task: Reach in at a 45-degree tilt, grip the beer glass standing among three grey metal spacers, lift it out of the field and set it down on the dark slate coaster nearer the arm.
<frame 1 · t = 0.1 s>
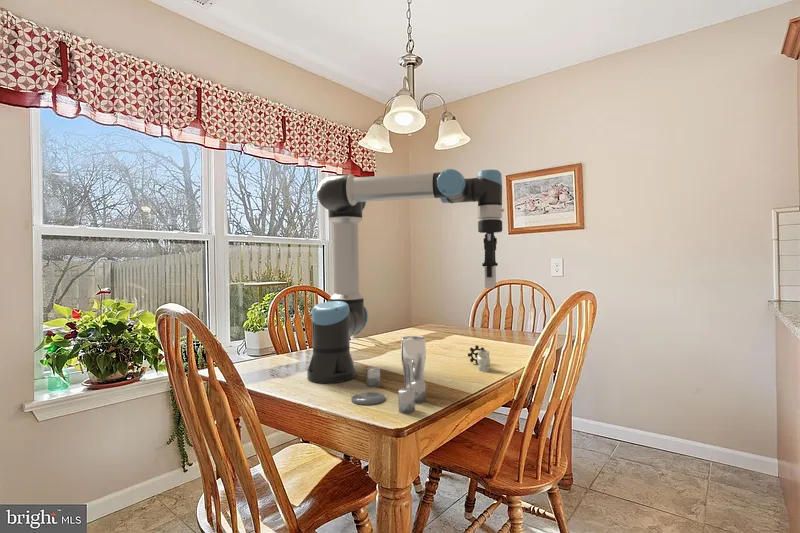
hand: (490, 287, 139), 28 cm above the table, tool pointing down, fingers open, 13 cm apart
spacer c: (406, 410, 107), on the table
coaster: (368, 399, 116), on the table
valve: (481, 368, 149), on the table
spacer a: (373, 385, 130), on the table
beer glass: (413, 391, 123), on the table
spacer b: (418, 400, 115), on the table
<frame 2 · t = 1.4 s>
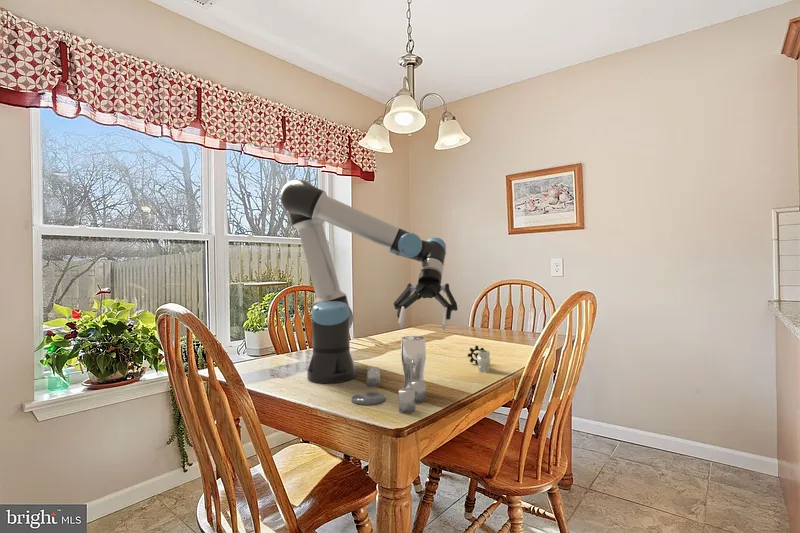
hand: (421, 326, 133), 17 cm above the table, tool tilted 45°, fingers open, 13 cm apart
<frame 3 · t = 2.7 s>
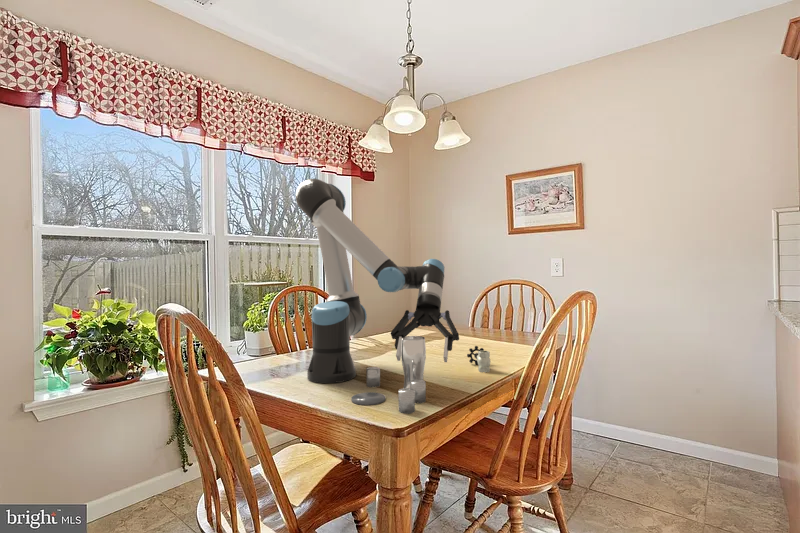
hand: (421, 359, 124), 9 cm above the table, tool tilted 45°, fingers open, 13 cm apart
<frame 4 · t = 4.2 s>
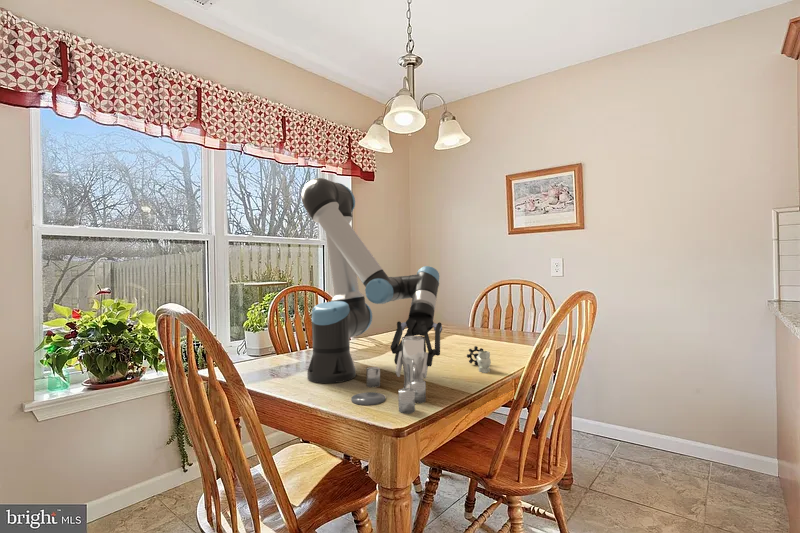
hand: (410, 374, 120), 5 cm above the table, tool tilted 45°, fingers closed on beer glass, 7 cm apart
beer glass: (413, 391, 123), on the table, touching gripper
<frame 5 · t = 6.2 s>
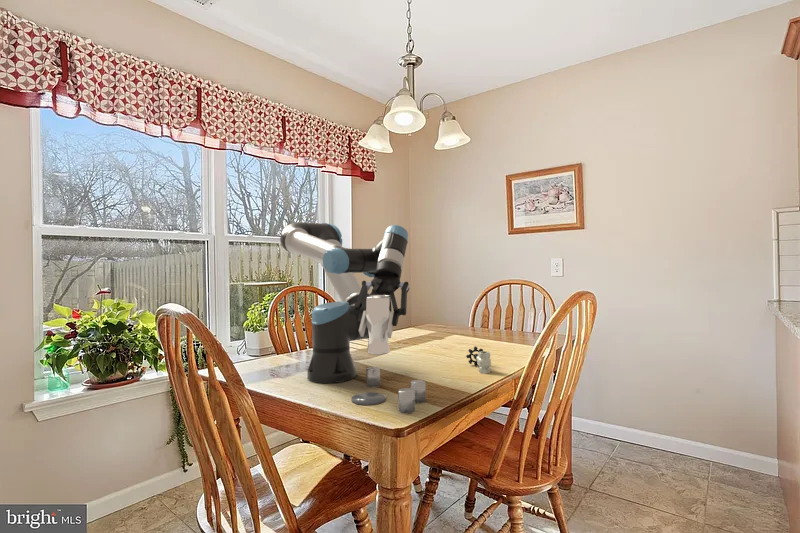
hand: (374, 334, 114), 18 cm above the table, tool tilted 45°, fingers closed on beer glass, 7 cm apart
beer glass: (378, 352, 118), point 12 cm above the table, touching gripper
when the fingers open (11 cm above the table, at t = 8.3 s): beer glass drops 5 cm, resting on coaster.
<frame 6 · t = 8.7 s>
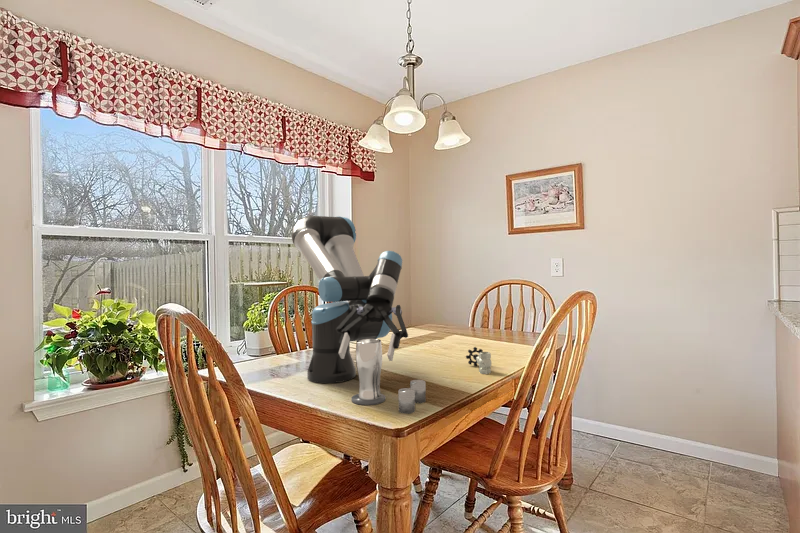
hand: (365, 357, 114), 12 cm above the table, tool tilted 45°, fingers open, 13 cm apart
beer glass: (369, 397, 116), resting on coaster
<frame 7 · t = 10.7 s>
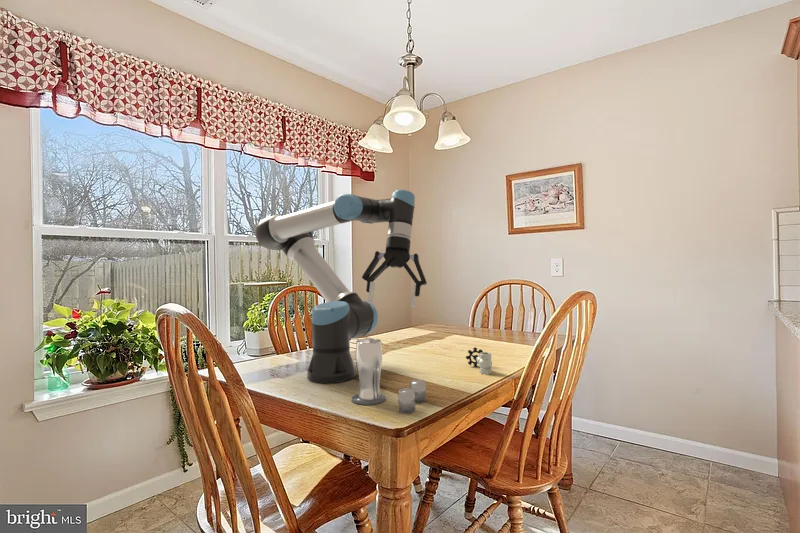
hand: (391, 305, 135), 23 cm above the table, tool pointing down, fingers open, 13 cm apart
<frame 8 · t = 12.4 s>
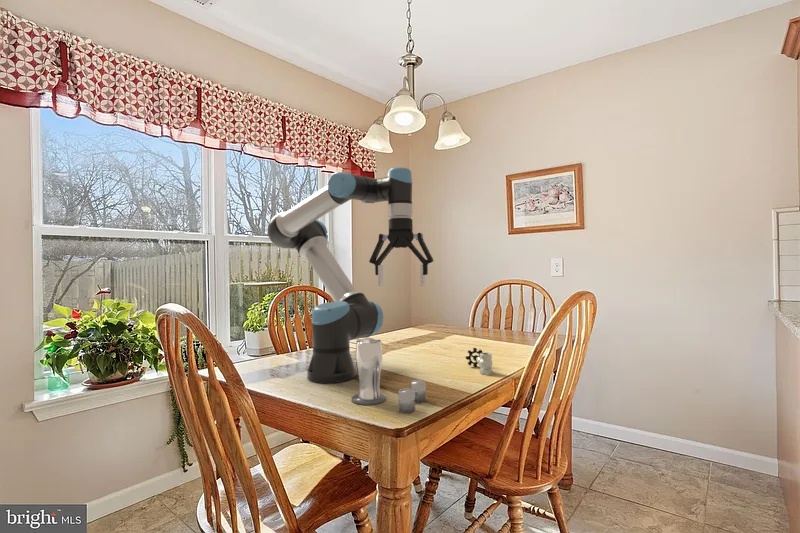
hand: (401, 285, 138), 29 cm above the table, tool pointing down, fingers open, 13 cm apart
at the end: beer glass inside the target area on the coaster (0.3 cm from its centre), point 0.4 cm above the coaster's base; beer glass tilted 0°; the gripper is holding nothing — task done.
